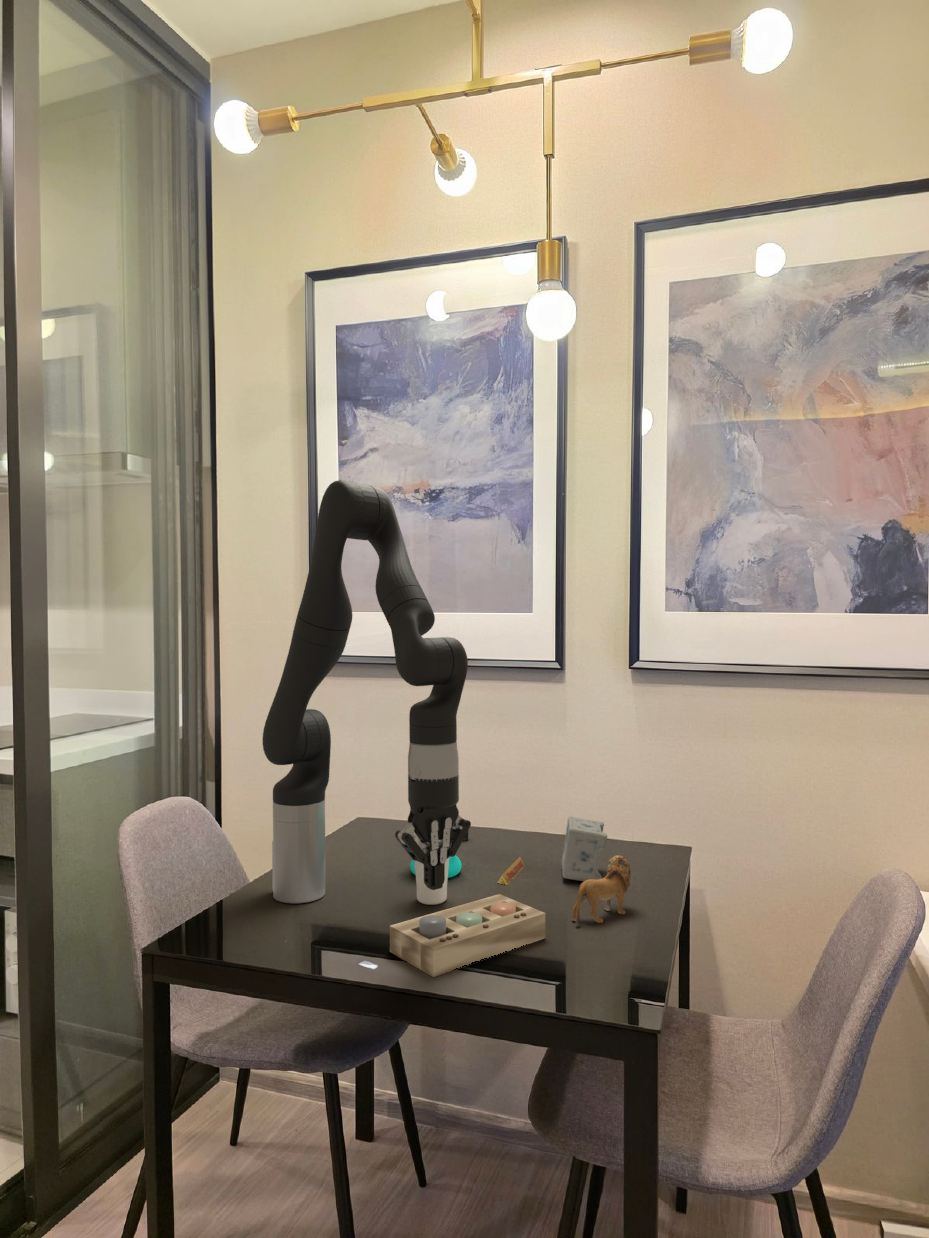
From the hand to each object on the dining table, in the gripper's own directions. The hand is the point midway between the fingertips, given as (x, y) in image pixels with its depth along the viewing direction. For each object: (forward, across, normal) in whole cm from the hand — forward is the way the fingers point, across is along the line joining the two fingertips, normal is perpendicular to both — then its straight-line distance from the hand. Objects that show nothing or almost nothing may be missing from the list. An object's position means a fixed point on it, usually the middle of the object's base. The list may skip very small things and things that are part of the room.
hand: (434, 887), depth 127 cm
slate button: (+8, 0, 0) cm, 8 cm away
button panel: (+10, -7, 0) cm, 12 cm away
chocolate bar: (+11, -34, -21) cm, 42 cm away
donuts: (+10, -24, -31) cm, 40 cm away
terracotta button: (+9, -14, 0) cm, 17 cm away
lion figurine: (+11, -32, +4) cm, 34 cm away
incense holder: (+11, -45, -12) cm, 47 cm away
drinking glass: (+10, -14, -19) cm, 26 cm away
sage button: (+9, -7, 0) cm, 11 cm away
